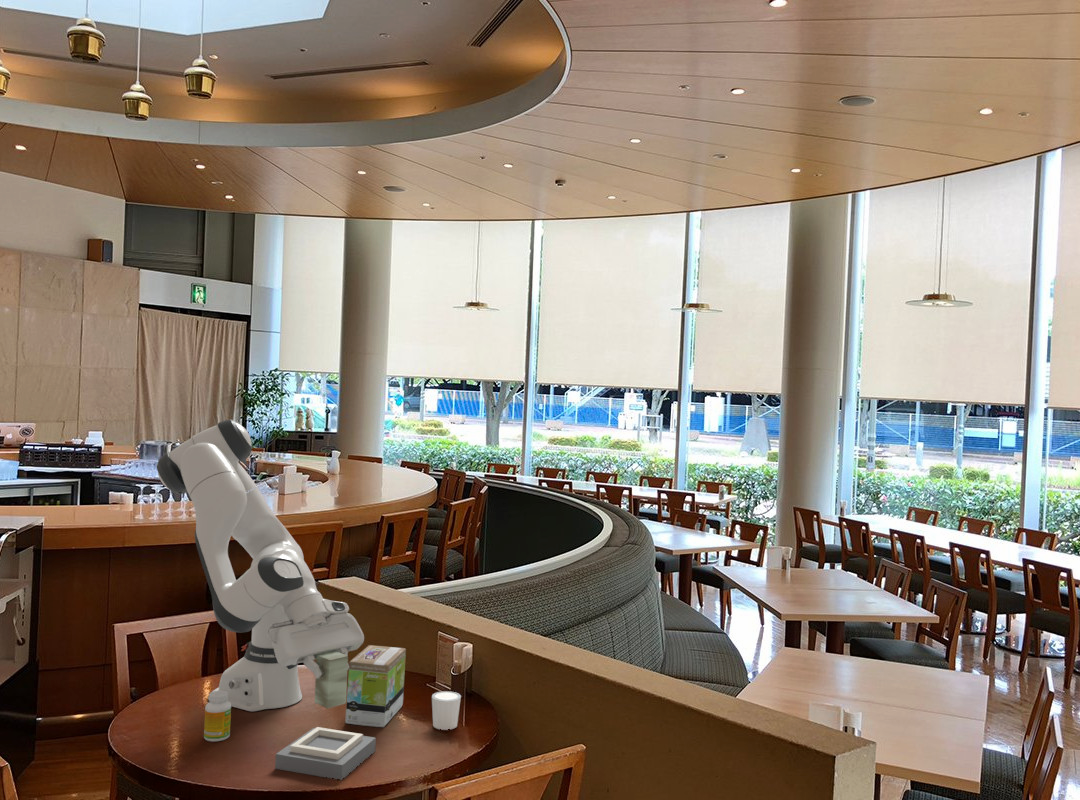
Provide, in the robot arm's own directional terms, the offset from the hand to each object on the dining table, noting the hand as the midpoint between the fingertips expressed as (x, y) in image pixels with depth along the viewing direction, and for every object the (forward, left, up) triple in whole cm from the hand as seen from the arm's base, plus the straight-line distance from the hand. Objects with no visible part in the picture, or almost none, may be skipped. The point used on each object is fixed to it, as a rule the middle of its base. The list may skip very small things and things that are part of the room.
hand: (333, 673), depth 182 cm
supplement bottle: (-29, +2, -19) cm, 34 cm away
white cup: (+15, +27, -19) cm, 36 cm away
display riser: (-1, 0, -18) cm, 18 cm away
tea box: (-3, +27, -19) cm, 33 cm away
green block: (-1, 0, -6) cm, 6 cm away
